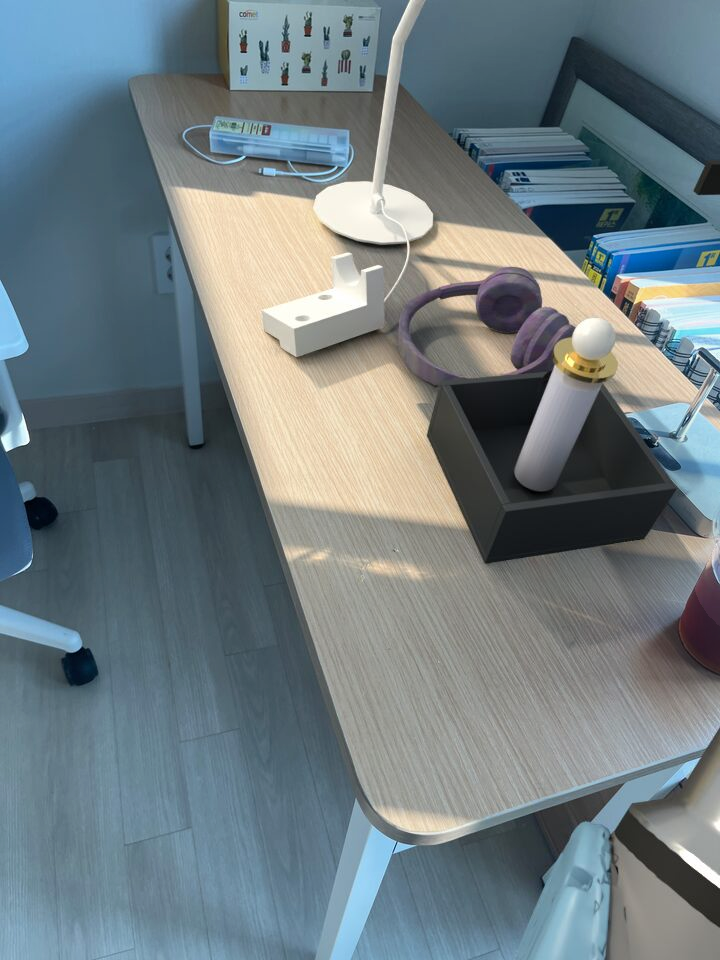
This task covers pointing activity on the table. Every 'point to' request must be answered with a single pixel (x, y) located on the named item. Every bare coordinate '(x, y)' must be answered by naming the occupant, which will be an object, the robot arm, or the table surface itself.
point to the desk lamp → (379, 178)
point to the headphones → (496, 322)
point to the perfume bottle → (566, 402)
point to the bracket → (330, 310)
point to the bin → (580, 488)
